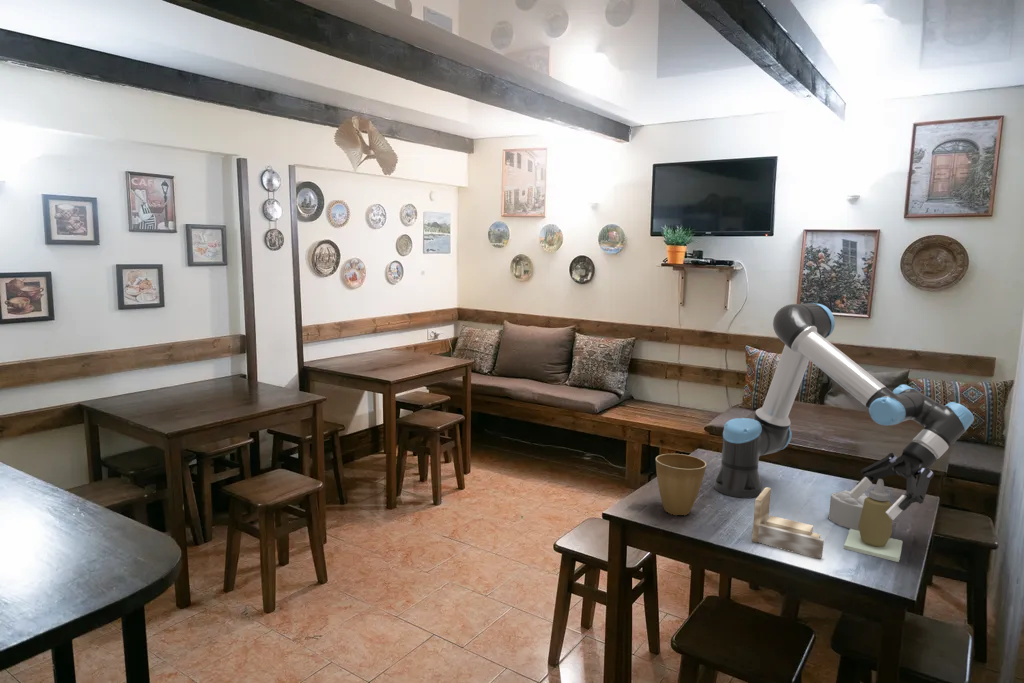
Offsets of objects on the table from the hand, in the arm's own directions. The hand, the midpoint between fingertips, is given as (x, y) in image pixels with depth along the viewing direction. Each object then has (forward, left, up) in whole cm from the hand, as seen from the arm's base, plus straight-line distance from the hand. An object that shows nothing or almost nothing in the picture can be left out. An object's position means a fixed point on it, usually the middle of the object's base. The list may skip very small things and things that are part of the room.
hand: (870, 506), depth 177 cm
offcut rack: (-18, -9, -12) cm, 23 cm away
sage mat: (+2, +2, -12) cm, 12 cm away
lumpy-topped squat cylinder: (-5, +16, -12) cm, 21 cm away
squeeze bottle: (+2, +2, -11) cm, 11 cm away
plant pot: (-50, -7, -12) cm, 52 cm away
